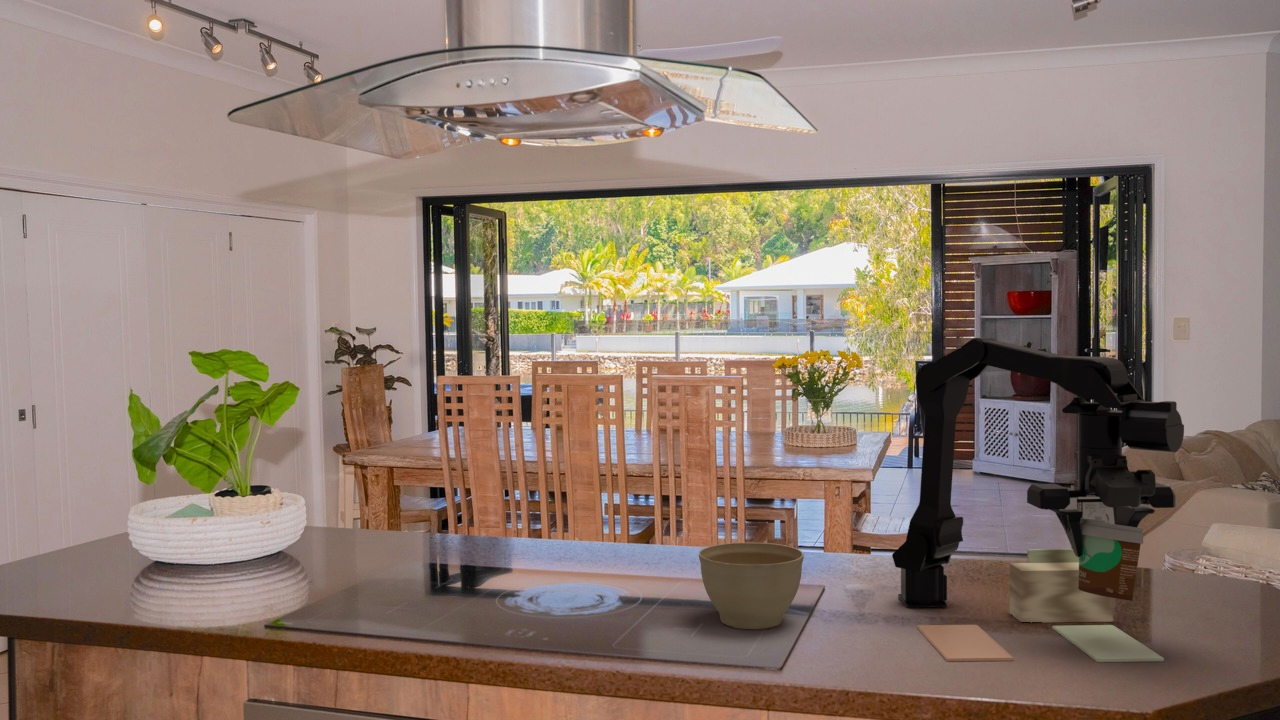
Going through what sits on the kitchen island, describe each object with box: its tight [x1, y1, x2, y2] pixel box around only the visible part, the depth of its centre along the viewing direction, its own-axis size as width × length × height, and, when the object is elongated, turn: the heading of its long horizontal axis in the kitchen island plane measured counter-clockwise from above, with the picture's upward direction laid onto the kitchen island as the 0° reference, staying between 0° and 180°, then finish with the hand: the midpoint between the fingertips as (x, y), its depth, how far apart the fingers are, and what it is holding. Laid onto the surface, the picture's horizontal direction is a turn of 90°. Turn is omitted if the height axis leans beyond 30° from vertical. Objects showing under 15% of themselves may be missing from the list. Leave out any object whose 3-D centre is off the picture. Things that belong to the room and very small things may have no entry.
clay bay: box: [916, 624, 1014, 662], centre depth 146 cm, size 9×15×1 cm, turn 0°
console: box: [1009, 548, 1114, 624], centre depth 158 cm, size 14×6×10 cm, turn 90°
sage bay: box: [1052, 624, 1165, 663], centre depth 145 cm, size 9×15×1 cm, turn 0°
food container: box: [1078, 518, 1144, 602], centre depth 144 cm, size 12×6×10 cm, turn 0°
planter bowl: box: [698, 542, 805, 630], centre depth 157 cm, size 16×16×11 cm
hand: (1100, 556), depth 144 cm, fingers closed on food container, 6 cm apart
